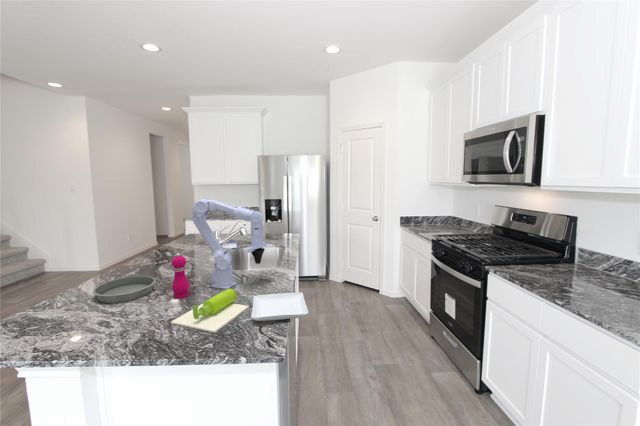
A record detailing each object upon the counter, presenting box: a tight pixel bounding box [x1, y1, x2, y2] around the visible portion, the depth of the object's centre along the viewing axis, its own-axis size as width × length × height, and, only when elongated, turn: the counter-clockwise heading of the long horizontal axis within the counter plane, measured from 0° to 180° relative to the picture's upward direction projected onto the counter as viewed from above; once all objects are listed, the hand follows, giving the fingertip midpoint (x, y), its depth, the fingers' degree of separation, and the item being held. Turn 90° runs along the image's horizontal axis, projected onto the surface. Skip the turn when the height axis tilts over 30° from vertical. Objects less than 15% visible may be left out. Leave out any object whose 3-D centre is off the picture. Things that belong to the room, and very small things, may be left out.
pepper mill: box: [170, 252, 190, 299], centre depth 136 cm, size 7×7×20 cm
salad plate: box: [250, 291, 309, 322], centre depth 122 cm, size 21×21×3 cm
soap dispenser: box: [192, 287, 237, 319], centre depth 120 cm, size 6×7×20 cm
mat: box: [170, 302, 250, 334], centre depth 119 cm, size 20×21×1 cm
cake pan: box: [92, 275, 156, 304], centre depth 141 cm, size 25×25×4 cm
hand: (258, 263), depth 150 cm, fingers closed
